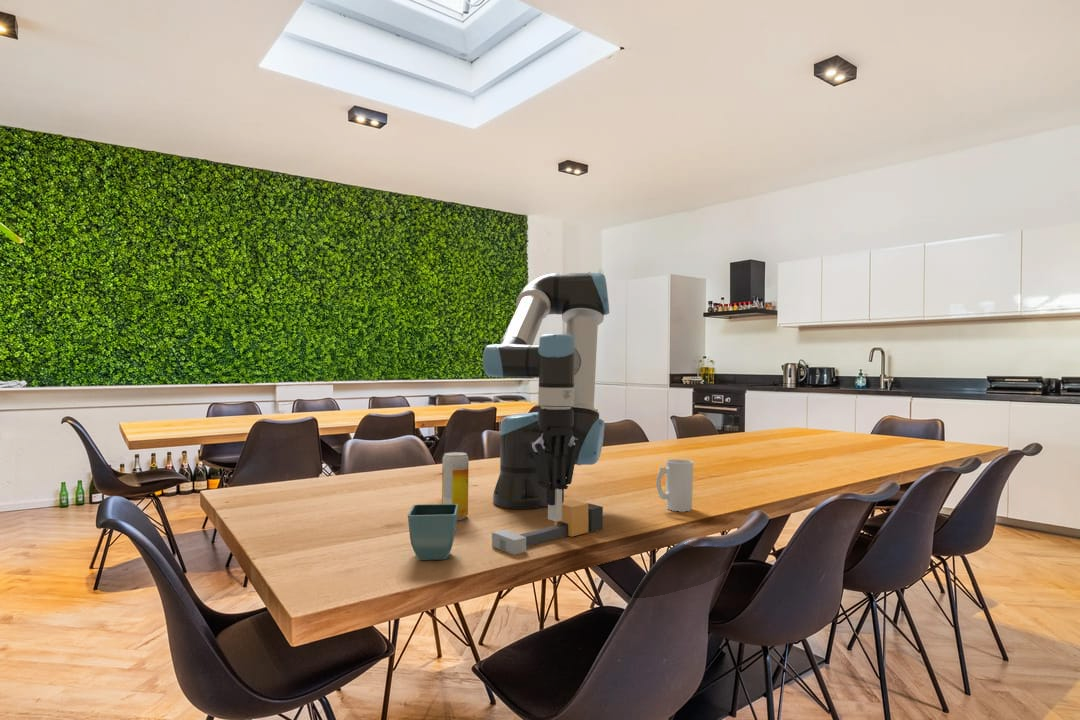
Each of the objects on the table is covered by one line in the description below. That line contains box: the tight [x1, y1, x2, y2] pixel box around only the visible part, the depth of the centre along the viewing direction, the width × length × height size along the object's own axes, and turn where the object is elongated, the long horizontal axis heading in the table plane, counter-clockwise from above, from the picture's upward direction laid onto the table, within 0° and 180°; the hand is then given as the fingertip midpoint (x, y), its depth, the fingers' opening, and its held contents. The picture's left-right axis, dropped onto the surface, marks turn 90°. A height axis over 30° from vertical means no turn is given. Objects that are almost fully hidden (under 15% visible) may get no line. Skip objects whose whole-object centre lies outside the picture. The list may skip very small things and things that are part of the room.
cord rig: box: [491, 502, 604, 556], centre depth 128 cm, size 26×7×5 cm, turn 132°
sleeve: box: [553, 498, 589, 537], centre depth 132 cm, size 5×5×6 cm
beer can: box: [441, 451, 470, 521], centre depth 144 cm, size 6×6×15 cm
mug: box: [656, 458, 694, 513], centre depth 154 cm, size 10×7×12 cm, turn 112°
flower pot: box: [407, 503, 458, 561], centre depth 116 cm, size 9×9×9 cm
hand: (554, 519), depth 129 cm, fingers closed
